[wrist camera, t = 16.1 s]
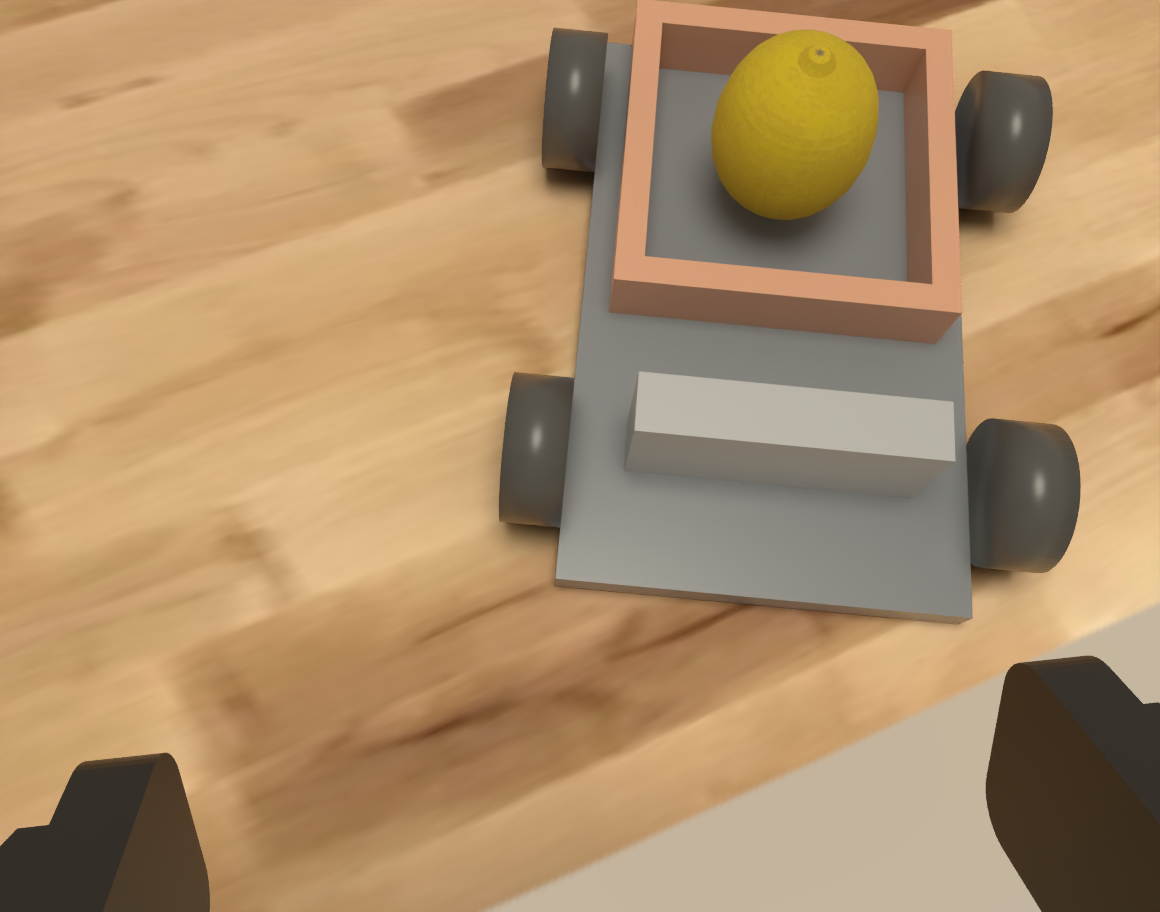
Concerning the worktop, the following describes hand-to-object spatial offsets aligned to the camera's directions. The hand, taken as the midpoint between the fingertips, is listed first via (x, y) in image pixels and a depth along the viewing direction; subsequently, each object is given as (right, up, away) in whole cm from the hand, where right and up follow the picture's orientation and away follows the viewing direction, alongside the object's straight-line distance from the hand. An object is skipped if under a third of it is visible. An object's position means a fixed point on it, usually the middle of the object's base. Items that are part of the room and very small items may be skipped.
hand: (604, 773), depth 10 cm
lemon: (+7, +13, +30) cm, 33 cm away
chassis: (+7, +8, +29) cm, 31 cm away
